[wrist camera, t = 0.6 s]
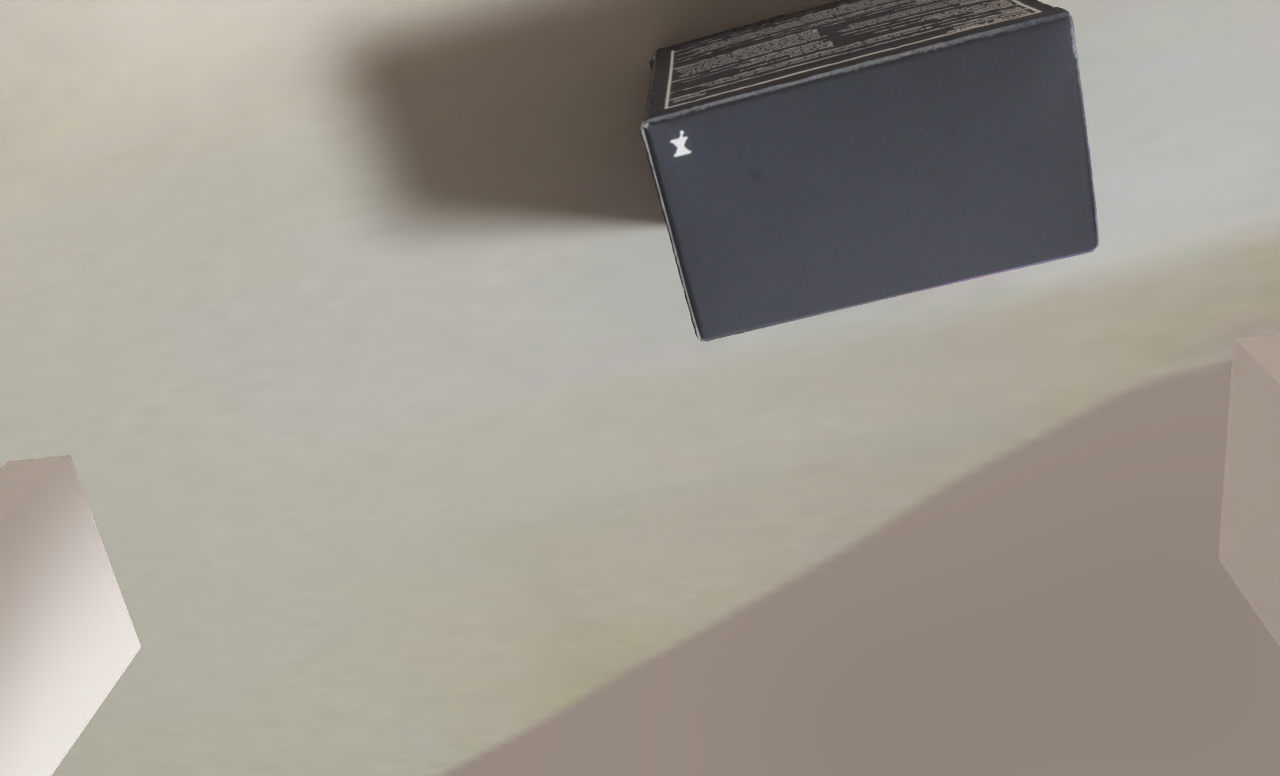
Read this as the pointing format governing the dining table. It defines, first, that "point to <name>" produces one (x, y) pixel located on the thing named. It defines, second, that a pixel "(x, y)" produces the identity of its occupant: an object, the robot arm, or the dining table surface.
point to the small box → (867, 155)
